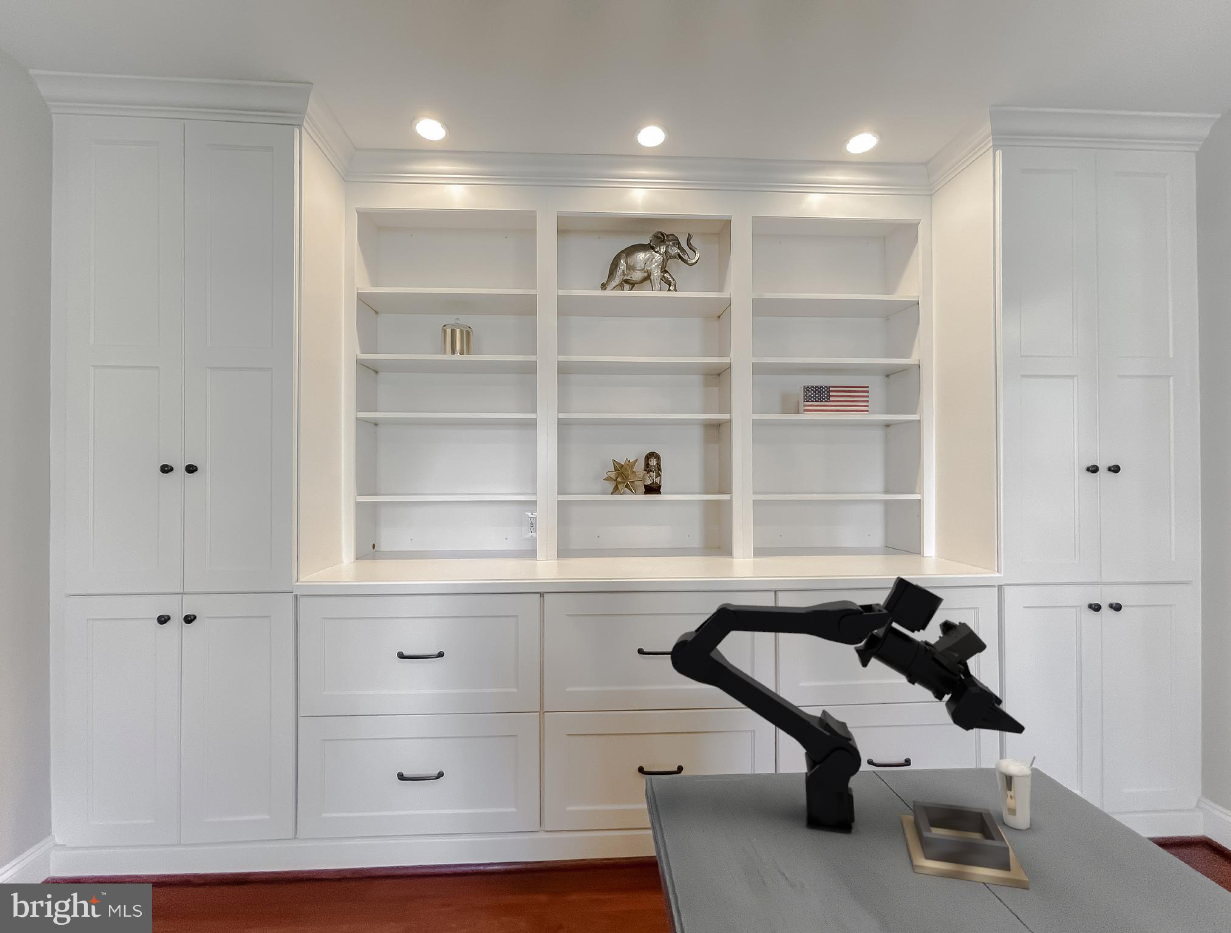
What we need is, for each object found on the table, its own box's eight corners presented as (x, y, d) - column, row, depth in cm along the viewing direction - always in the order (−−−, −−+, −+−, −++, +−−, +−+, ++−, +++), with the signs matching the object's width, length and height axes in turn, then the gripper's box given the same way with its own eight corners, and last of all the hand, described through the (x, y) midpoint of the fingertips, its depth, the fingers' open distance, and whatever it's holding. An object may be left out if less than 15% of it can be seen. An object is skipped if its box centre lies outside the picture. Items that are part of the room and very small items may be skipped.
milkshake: (1047, 834, 87) (1042, 763, 88) (1006, 831, 88) (1001, 761, 89) (1032, 817, 92) (1028, 750, 92) (993, 815, 93) (989, 748, 93)
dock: (914, 872, 80) (912, 840, 80) (901, 821, 92) (899, 794, 92) (1029, 889, 76) (1027, 856, 76) (999, 833, 88) (997, 805, 88)
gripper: (953, 630, 81) (1072, 696, 77) (923, 597, 99) (1019, 649, 95) (909, 697, 83) (1023, 765, 79) (887, 653, 101) (980, 707, 97)
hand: (1011, 716), depth 88 cm, fingers open, 9 cm apart
